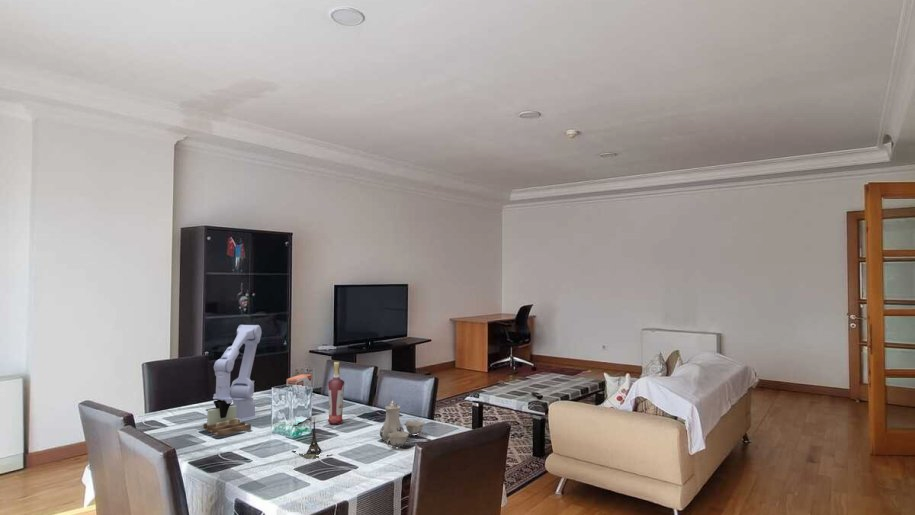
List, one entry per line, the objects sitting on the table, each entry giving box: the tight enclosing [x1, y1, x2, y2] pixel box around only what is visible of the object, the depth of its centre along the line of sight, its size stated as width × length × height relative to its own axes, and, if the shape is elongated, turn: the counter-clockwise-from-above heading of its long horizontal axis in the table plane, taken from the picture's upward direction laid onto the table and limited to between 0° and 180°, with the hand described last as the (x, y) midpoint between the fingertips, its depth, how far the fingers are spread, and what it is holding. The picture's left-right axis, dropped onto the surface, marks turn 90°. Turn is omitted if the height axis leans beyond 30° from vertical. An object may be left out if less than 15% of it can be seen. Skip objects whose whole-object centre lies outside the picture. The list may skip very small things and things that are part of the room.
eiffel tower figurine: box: [291, 418, 323, 460], centre depth 203 cm, size 15×10×13 cm
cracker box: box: [285, 373, 313, 388], centre depth 247 cm, size 14×6×21 cm, turn 168°
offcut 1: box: [216, 421, 229, 427], centre depth 230 cm, size 5×2×3 cm, turn 137°
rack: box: [202, 420, 252, 437], centre depth 232 cm, size 14×16×3 cm
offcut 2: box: [226, 418, 239, 425], centre depth 235 cm, size 5×2×3 cm, turn 137°
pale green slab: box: [206, 405, 237, 425], centre depth 235 cm, size 12×2×8 cm, turn 137°
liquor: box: [327, 361, 345, 425], centre depth 246 cm, size 7×7×28 cm
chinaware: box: [379, 399, 425, 448], centre depth 221 cm, size 28×17×17 cm, turn 168°
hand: (222, 417), depth 235 cm, fingers closed on pale green slab, 2 cm apart
